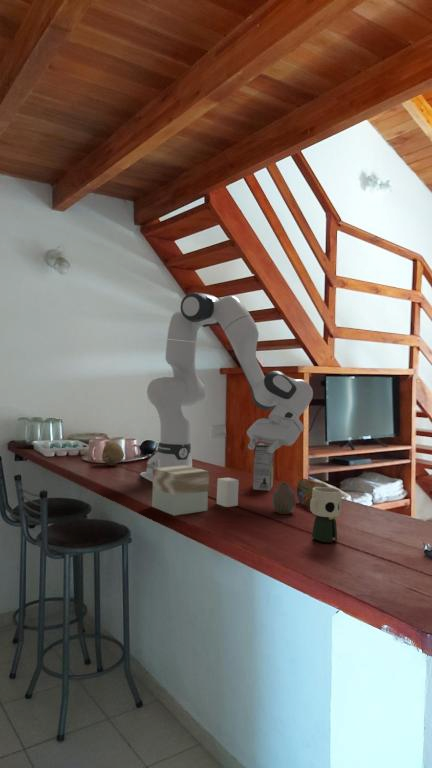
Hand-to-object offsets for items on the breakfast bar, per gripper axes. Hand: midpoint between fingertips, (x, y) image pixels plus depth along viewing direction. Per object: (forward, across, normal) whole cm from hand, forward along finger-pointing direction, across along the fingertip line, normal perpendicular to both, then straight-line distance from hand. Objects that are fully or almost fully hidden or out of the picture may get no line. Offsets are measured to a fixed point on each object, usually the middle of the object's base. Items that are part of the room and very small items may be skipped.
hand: (259, 450), depth 182 cm
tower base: (+32, -3, -8) cm, 33 cm away
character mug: (+22, +42, +2) cm, 47 cm away
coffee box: (+1, -14, +23) cm, 27 cm away
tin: (+5, +15, +19) cm, 25 cm away
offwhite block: (+21, 0, +3) cm, 21 cm away
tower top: (+28, -3, -13) cm, 31 cm away
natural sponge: (+20, -78, +2) cm, 81 cm away
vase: (+15, +16, +9) cm, 23 cm away
